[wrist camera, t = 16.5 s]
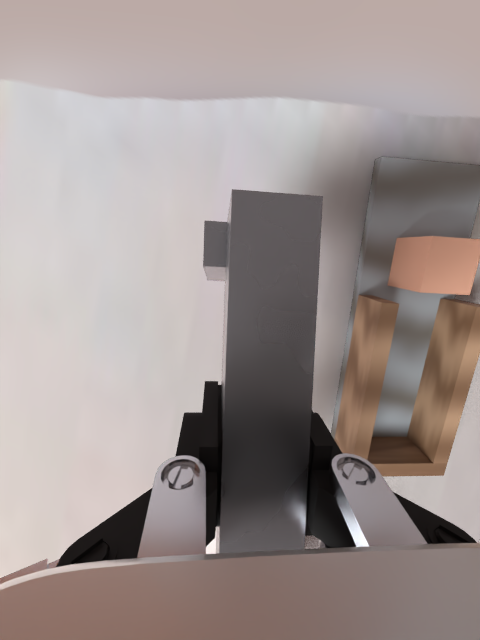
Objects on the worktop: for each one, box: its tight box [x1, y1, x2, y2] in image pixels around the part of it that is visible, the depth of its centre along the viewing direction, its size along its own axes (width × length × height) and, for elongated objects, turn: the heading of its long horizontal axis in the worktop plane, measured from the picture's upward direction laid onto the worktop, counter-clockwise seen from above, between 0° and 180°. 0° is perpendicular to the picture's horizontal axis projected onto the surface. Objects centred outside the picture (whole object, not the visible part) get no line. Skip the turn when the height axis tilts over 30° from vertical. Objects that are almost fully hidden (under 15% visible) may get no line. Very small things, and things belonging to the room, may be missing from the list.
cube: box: [388, 236, 480, 295], centre depth 24 cm, size 4×4×4 cm
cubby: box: [331, 156, 480, 476], centre depth 26 cm, size 30×10×5 cm, turn 177°
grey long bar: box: [203, 189, 323, 554], centre depth 12 cm, size 22×5×8 cm, turn 177°
